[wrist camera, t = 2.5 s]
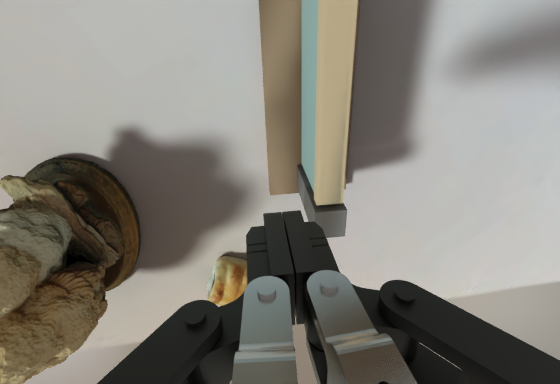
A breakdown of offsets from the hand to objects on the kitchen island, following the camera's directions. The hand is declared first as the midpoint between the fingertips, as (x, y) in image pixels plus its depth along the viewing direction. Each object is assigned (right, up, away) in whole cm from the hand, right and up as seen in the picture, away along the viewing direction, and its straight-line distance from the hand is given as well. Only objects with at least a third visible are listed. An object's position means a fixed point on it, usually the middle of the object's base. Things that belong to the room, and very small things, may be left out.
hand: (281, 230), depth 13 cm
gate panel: (+3, +11, +14) cm, 18 cm away
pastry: (-5, -9, +26) cm, 28 cm away
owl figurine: (-21, -2, +20) cm, 29 cm away
